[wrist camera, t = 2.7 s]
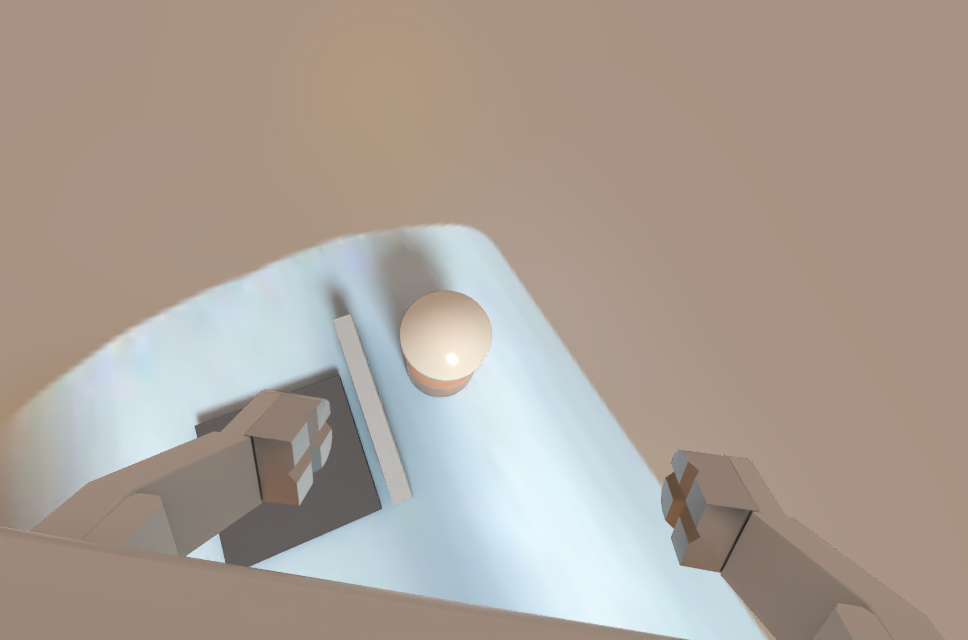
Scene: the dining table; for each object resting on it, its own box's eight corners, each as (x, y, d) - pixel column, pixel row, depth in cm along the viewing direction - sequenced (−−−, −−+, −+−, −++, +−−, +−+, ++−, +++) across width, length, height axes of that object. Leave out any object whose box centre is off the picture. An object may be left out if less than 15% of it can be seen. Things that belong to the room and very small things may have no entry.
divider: (396, 502, 38) (393, 505, 34) (340, 333, 42) (333, 319, 38) (413, 494, 38) (412, 497, 34) (356, 327, 42) (350, 314, 38)
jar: (418, 410, 40) (418, 392, 31) (394, 343, 42) (387, 306, 33) (486, 384, 42) (506, 359, 33) (460, 320, 44) (472, 279, 34)
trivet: (232, 573, 35) (228, 575, 34) (199, 426, 37) (194, 425, 37) (382, 508, 37) (381, 509, 37) (340, 377, 40) (338, 375, 40)
